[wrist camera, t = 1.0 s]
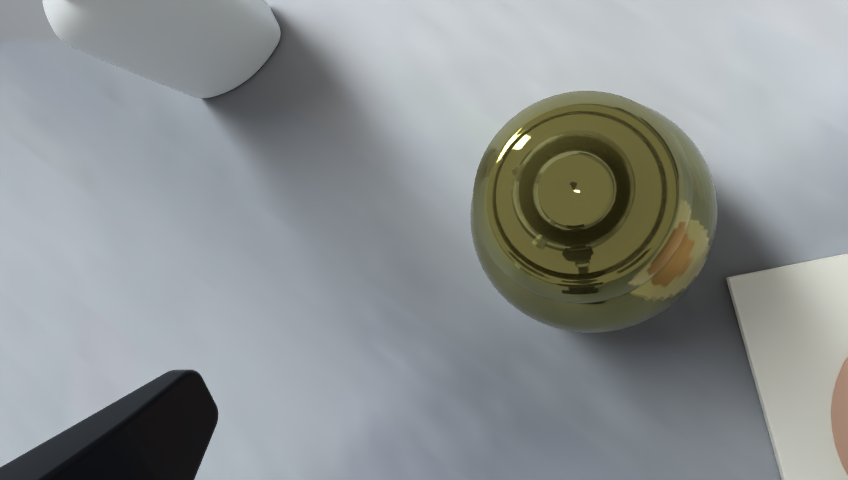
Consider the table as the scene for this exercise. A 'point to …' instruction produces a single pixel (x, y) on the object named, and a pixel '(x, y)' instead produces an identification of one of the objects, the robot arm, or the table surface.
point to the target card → (800, 361)
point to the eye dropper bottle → (172, 38)
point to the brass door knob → (592, 212)
